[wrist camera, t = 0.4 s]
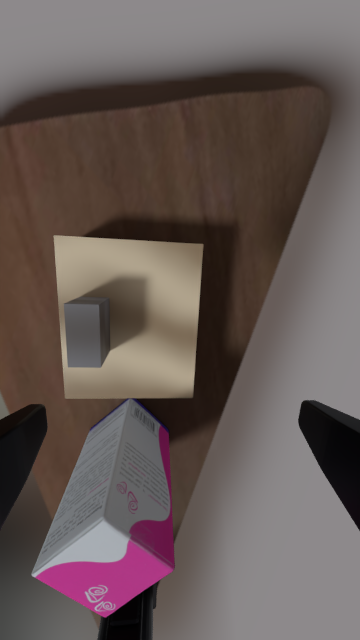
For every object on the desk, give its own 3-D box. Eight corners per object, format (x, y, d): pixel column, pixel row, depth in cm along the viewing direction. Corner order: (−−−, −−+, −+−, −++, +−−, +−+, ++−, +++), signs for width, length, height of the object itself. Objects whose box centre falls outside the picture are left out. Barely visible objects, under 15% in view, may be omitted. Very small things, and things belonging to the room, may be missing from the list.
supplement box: (87, 429, 24) (24, 578, 12) (132, 393, 23) (107, 513, 12) (128, 464, 25) (103, 625, 14) (170, 430, 24) (181, 569, 13)
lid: (191, 392, 20) (198, 421, 16) (68, 393, 19) (47, 424, 15) (201, 245, 17) (212, 240, 14) (58, 236, 16) (29, 229, 13)
